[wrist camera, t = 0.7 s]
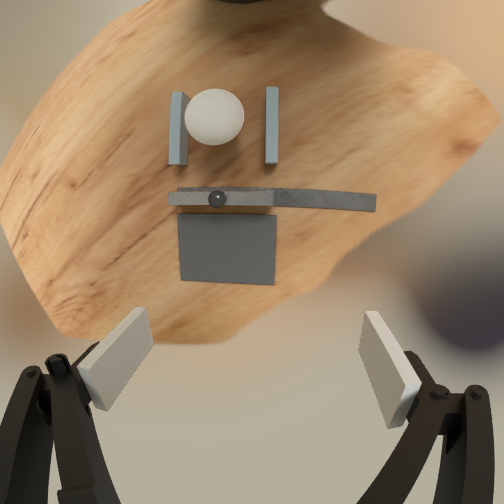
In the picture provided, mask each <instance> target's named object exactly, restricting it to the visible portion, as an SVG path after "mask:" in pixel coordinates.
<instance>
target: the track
mask: <svg viewBox="0 0 504 504" xmlns="http://www.w3.org/2000/svg"><path fill="white" fill-rule="evenodd" d="M200 190H243V191H274V193H273V206H291V207H314V208H332V209H348V210H362V211H375V210H376V194H365V193H353V192H340V191H325V190H308V189H285V188H243V187H206V188H177V191H200Z"/></svg>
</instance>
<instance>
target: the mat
mask: <svg viewBox="0 0 504 504" xmlns="http://www.w3.org/2000/svg"><path fill="white" fill-rule="evenodd" d="M276 221H277V215H250V214H178V238H179V258H180V274H181V280H189V281H205V282H222V283H241V284H262V285H274V276H275V251H276Z"/></svg>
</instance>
